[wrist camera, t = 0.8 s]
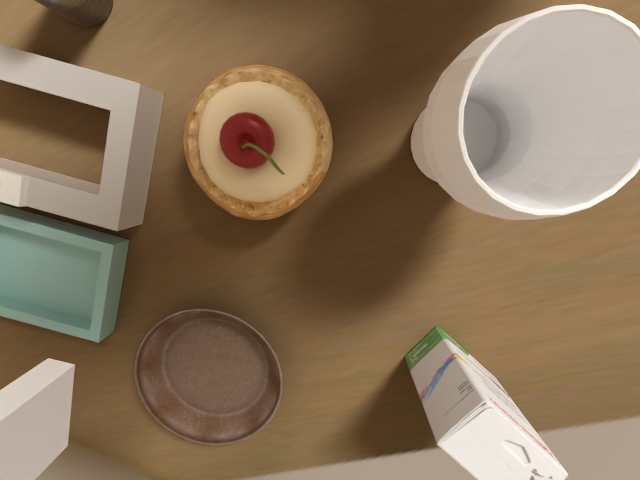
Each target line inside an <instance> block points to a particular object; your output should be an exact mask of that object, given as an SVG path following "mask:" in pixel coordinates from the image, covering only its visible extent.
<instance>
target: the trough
mask: <svg viewBox="0 0 640 480" xmlns="http://www.w3.org/2000/svg"><path fill="white" fill-rule="evenodd" d="M128 246H129V240H128V239H125V238H121V237H118V236H114V235H110V234H107V233H103V232H100V231H96V230H92V229H89V228H85V227H81V226H78V225H74V224H71V223H67V222H63V221H60V220H56V219H53V218H49V217H45V216H42V215H38V214H35V213H31V212H27V211H24V210H20V209H16V208H13V207H9V206H6V205H2V204H0V316H3V317H7V318H10V319H14V320H17V321H21V322H25V323H28V324H32V325H36V326H39V327H43V328H47V329H50V330H54V331H58V332H61V333H65V334H69V335H72V336H76V337H80V338H83V339H87V340H91V341H94V342H98V343H99V342H100V341H102V340H103V339H104V338H106V337H107V336H108V335H110V334H111V333H112V332H114V331H115V325H116V319H117V313H118V307H119V301H120V295H121V289H122V283H123V276H124V270H125V264H126V258H127V252H128Z"/></svg>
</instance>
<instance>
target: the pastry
mask: <svg viewBox="0 0 640 480" xmlns="http://www.w3.org/2000/svg"><path fill="white" fill-rule="evenodd" d="M183 147H184V153H185V158H186V160H187V164H188V167H189V170H190V172H191V174H192V176H193V178H194V179H195V180H196V182H197V183H198V185H199V186H200V187H201V189H202V190H203V191H204V192H205V193H206V195H207V196H208V197H209V198H211V200H212V201H214V202H215V203H216V204H217V205H219V206H220V207H222V208H223V209H225V210H226V211H227V212H229V213H230V214H232V215H234V216H236V217H240V218H244V219H250V220H268V219H273V218H277V217H280V216H282V215H284V214H286V213H288V212H290V211H292V210H294V209H295V208H297V207H298V206H299V205H301V204H302V203H303V202H304V201H305V200H306V199H307V198H308V197H309V196H310V195H311V194H312V193H313V192H314V191H315V190H316V188H317V187H318V186H319V184H320V183H321V181H322V180H323V178H324V176H325V175H326V173H327V170H328V168H329V165H330V162H331V157H332V151H333V137H332V129H331V124H330V121H329V118H328V115H327V113H326V111H325V108H324V106H323V104H322V103H321V101H320V99H319V98H318V97H317V95H316V94H315V93H314V91H313V90H312V89H311V88H310V87H309V86H308V85H307V84H306V83H305V82H304V81H303V80H301V79H300V78H298V77H297V76H295V75H293V74H291V73H289V72H288V71H285V70H283V69H280V68H276V67H272V66H266V65H260V64H258V65H246V66H242V67H237V68H234V69H231V70H229V71H226V72H224V73H223V74H221V75H220V76H218V77H216V78H215V79H214V80H213V81H211V83H210V84H209V85H207V86H206V87H205V89H204V90H203V91H202V92H201V93H200V95H199V96H198V97H197V99H196V100H195V102H194V104H193V105H192V107H191V109H190V112H189V114H188V116H187V118H186V122H185V126H184V131H183Z"/></svg>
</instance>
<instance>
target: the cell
mask: <svg viewBox="0 0 640 480" xmlns="http://www.w3.org/2000/svg"><path fill="white" fill-rule="evenodd" d="M34 1H36V2H38V3H40V4H42V5H43V6H45V7H47V8H49V9H51V10H52V11H54V12H56V13H58V14H60V15H61V16H63V17H65V18H67V19H69V20H70V21H72V22H74V23H76V24H78V25H80V26H82V27H86V28H93V27H97V26H99V25H101V24H103V23H104V22H105V21H106V20H107V18H108V17H109V15H110V13H111V10H112V6H113V0H34Z"/></svg>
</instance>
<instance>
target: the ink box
mask: <svg viewBox="0 0 640 480" xmlns="http://www.w3.org/2000/svg"><path fill="white" fill-rule="evenodd" d="M405 360H406V362H407V365H408V367H409V370H410V373H411V376H412V378H413V381H414V383H415V386H416V389H417V391H418V394H419V397H420V399H421V402H422V404H423V407H424V410H425V413H426V415H427V418H428V421H429V424H430V426H431V429H432V432H433V434H434V437H435V440H436V443H437V445H438V446H439V447H440V448H441V449H443V450H444V451H445V452H446V453H447V454H448V455H449V456H450V457H452V458H453V459H454V460H455V461H456V462H457V463H458V464H460V465H461V466H462V467H463V468H464V469H465V470H467V471H468V472H469V473H470V474H471V475H472V476H473V477H475V478H476V479H477V480H530V478H531V476H532V475H536V476H540V477H544V478H548V479H553V480H564V479H565V478H567V476H568V474H567V472H566V471H565V469H564V468H563V467H562V466H561V464H560V463H559V462H558V460H557V459H556V458H555V456H554V455H553V454H552V453H551V451H550V450H549V448H548V447H547V446H546V445H545V443H544V442H543V441H542V439H541V438H540V437H539V435H538V434H537V433H536V431H535V430H534V429H533V427H532V426H531V425H530V423H529V422H528V421H527V419H526V418H525V417H524V415H523V414H522V413H521V411H520V410H519V409H518V407H517V406H516V405H515V404H514V402H513V401H512V399H511V398H510V397H509V395H508V394H507V393H506V391H505V390H504V389H503V387H502V386H501V385H500V383H499V382H498V381H497V379H496V378H495V377H494V376H493V375H492V374H491V373H490V372H489V371H487V370H486V369H485V368H484V367H483V366H482V365H481V364H480V363H479V362H478V361H476V360H475V359H474V358H473V357H472V356H471V355H470V354H469V353H468V352H466V351H465V350H464V349H463V348H462V347H461V346H460V345H459V344H458V343H456V342H455V341H454V340H453V339H452V338H451V337H450V336H449V335H448V334H446V333H445V332H444V331H443V330H442V329H441V328H440V327H435V328H434V329H433V330H432V331H431V332H430V333H429V334H428V335H427V336H426V337H425V338H423V340H421V341H420V342H419V343H418V344H417V345H416V346H415V347H414V348H413V349H412V350H411V351H410V352H409V353H408V354H407V355H406V356H405Z"/></svg>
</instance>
